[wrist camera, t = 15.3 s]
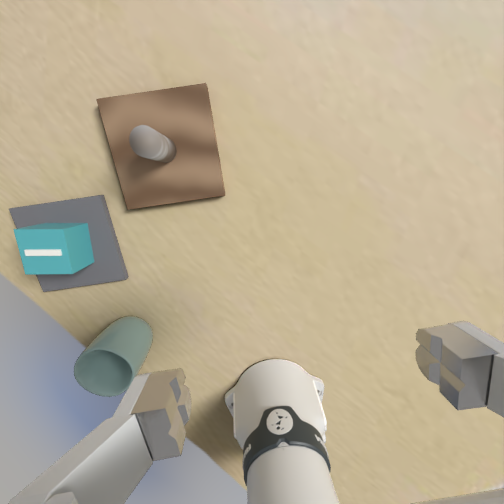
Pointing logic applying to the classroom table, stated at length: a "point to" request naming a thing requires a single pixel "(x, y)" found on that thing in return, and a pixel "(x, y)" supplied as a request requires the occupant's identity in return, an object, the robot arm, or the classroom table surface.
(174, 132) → the post base
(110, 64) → the classroom table surface
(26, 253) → the teal cube
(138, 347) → the cup
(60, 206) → the mat
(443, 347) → the robot arm
